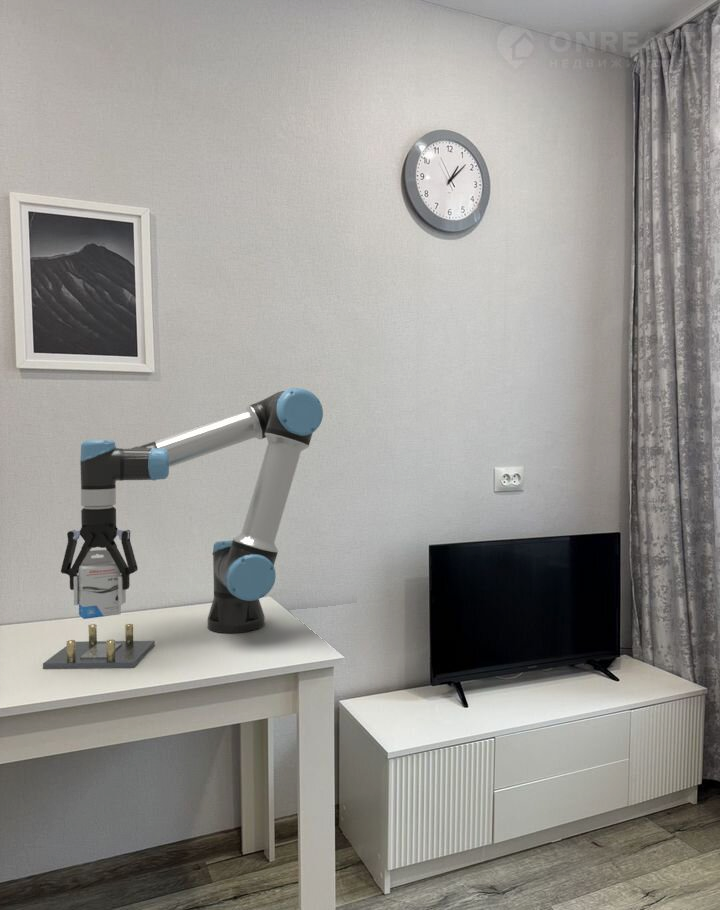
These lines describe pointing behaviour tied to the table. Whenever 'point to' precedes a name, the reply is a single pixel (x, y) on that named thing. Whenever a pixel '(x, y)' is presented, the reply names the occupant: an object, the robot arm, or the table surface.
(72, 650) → the plate
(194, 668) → the table surface
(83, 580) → the ink box
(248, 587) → the robot arm
